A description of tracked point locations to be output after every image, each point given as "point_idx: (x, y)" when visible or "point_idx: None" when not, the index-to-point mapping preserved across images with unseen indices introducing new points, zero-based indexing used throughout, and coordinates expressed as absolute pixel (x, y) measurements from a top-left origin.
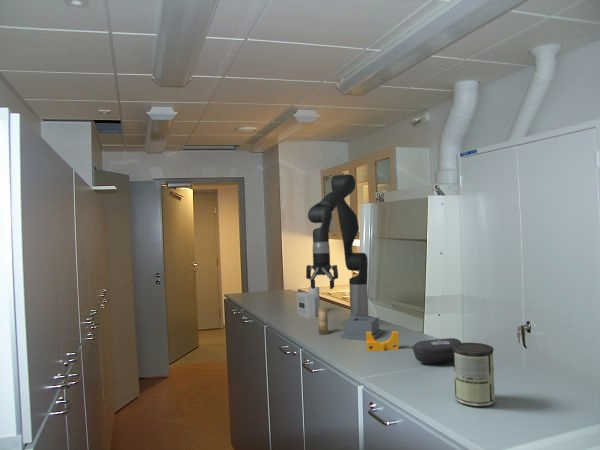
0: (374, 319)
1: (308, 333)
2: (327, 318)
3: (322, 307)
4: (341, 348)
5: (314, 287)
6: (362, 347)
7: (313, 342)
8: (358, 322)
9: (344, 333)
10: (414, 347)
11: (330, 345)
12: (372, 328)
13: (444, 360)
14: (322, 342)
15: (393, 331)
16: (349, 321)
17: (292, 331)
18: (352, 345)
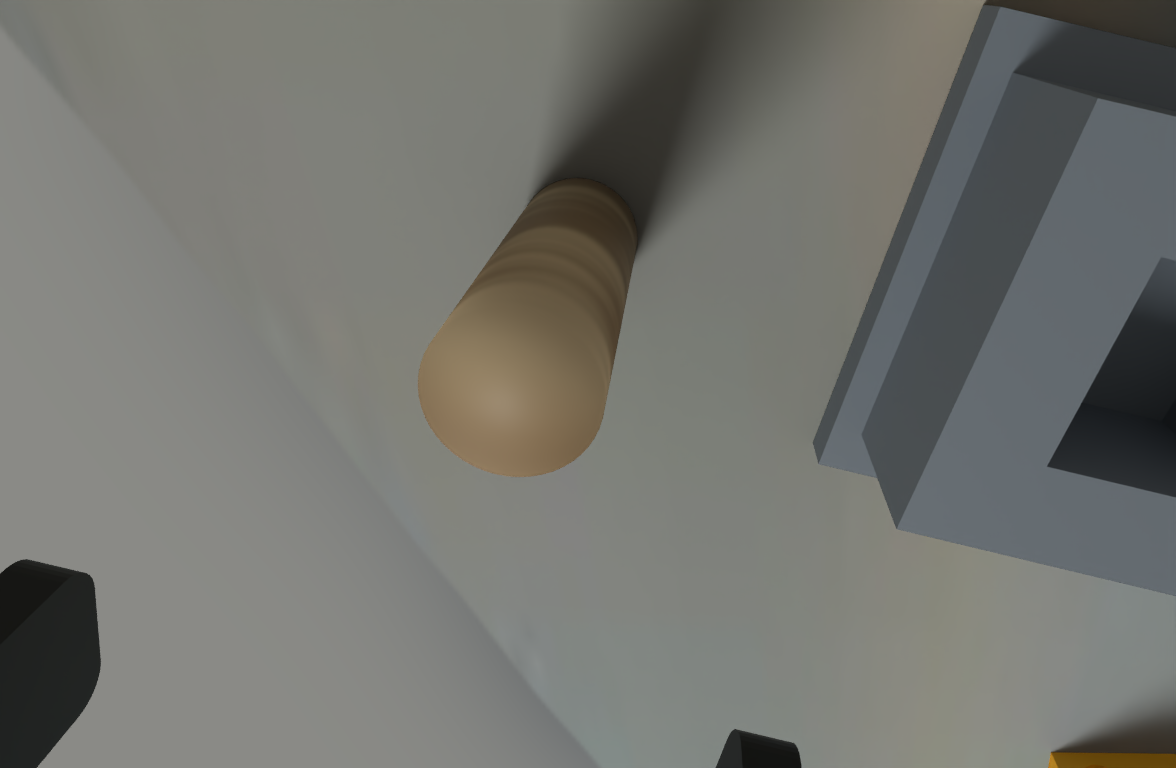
0: None
1: (372, 189)
2: (622, 314)
3: (514, 425)
4: (817, 758)
5: (74, 633)
6: (1013, 741)
7: (534, 581)
8: (1115, 580)
9: (866, 439)
10: None
11: (713, 676)
12: None
13: None
14: (623, 583)
15: None
16: (984, 539)
17: (120, 72)
18: (924, 683)
